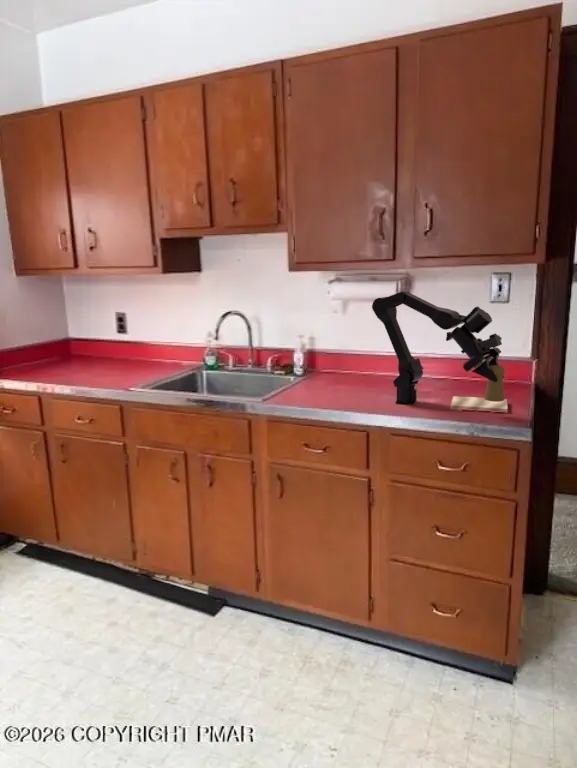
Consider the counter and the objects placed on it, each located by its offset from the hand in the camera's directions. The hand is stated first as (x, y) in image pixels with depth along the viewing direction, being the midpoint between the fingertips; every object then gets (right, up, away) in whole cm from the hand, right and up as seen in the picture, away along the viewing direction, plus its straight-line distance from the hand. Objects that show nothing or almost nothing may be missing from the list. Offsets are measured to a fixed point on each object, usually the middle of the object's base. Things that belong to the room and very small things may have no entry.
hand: (499, 379), depth 180 cm
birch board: (-2, -9, +15) cm, 18 cm away
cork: (-1, -6, +2) cm, 7 cm away
